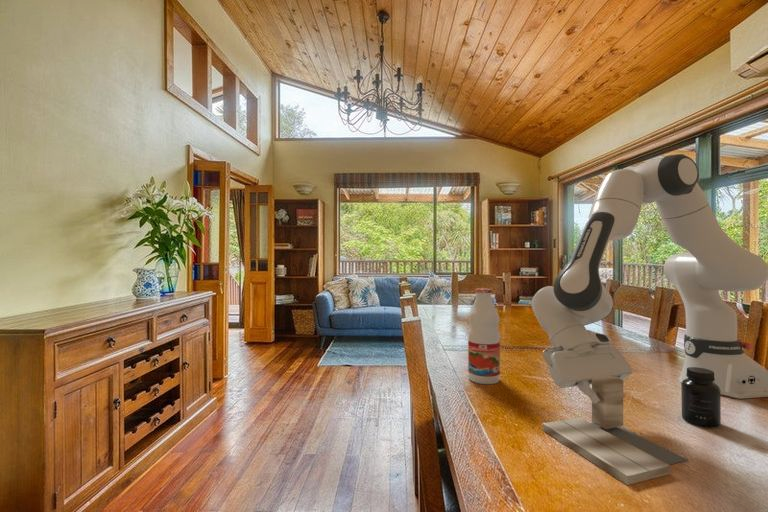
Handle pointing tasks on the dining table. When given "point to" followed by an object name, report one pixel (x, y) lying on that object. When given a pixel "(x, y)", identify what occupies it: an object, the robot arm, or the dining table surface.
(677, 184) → the robot arm
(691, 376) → the supplement bottle
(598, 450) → the floor panel
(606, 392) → the gray rectangular block
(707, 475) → the dining table surface
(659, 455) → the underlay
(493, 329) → the fruit juice
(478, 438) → the dining table surface
